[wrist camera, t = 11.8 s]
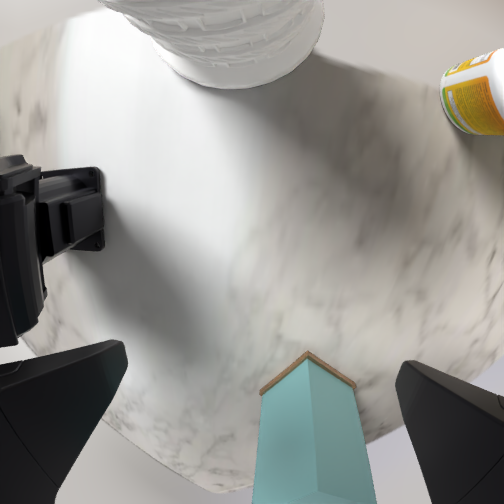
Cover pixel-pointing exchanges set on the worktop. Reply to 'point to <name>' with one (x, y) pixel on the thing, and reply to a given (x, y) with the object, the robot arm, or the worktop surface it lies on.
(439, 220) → the worktop surface
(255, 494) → the teal block
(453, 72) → the supplement bottle
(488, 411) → the robot arm
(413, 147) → the worktop surface
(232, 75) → the decorative container
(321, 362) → the post
